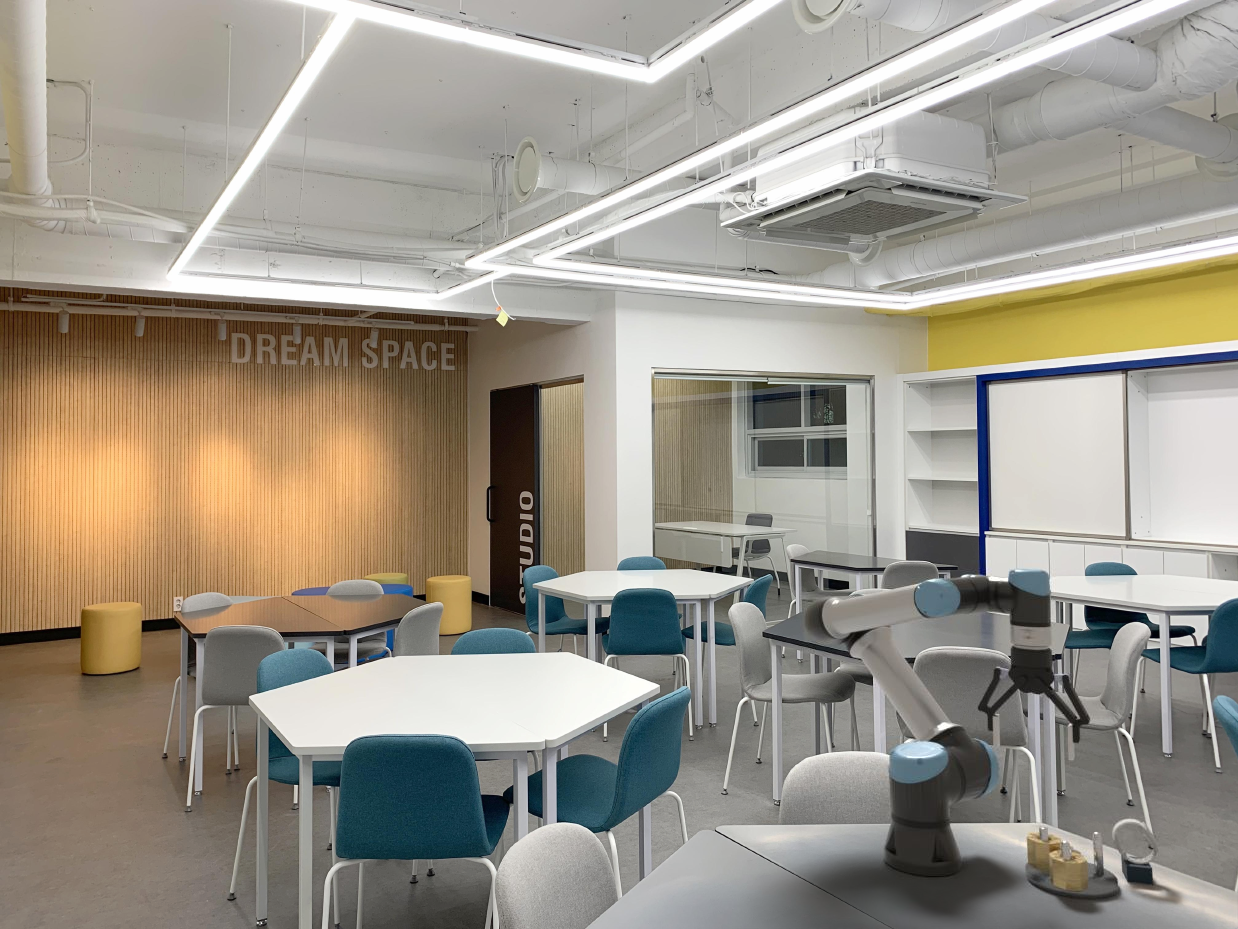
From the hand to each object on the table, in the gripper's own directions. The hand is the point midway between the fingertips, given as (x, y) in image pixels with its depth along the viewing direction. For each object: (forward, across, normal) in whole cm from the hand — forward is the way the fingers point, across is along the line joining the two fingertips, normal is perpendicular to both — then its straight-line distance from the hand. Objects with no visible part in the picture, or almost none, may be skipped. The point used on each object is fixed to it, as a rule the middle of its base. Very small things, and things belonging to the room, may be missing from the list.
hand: (1033, 753), depth 170 cm
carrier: (+24, +6, 0) cm, 25 cm away
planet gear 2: (+22, +6, -5) cm, 24 cm away
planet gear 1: (+22, +1, +3) cm, 23 cm away
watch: (+24, +17, +9) cm, 31 cm away
